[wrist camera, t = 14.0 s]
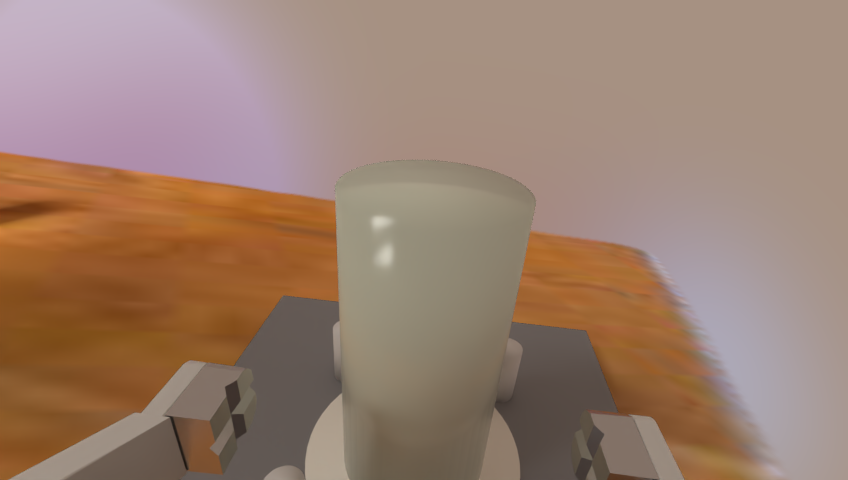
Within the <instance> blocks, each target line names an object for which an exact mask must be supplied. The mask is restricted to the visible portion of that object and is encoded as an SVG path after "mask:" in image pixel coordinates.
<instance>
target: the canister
mask: <svg viewBox="0 0 848 480" xmlns="http://www.w3.org/2000/svg"><path fill="white" fill-rule="evenodd" d="M335 202H336V231H337V261H338V290H339V319H340V349H341V378H342V407H343V437H344V462H345V468H346V472H347V475H348V478H349V480H479V478H480V474H481V470H482V466H483V461H484V456H485V451H486V446H487V441H488V436H489V431H490V426H491V421H492V417H493V412H494V407H495V402H496V397H497V392H498V387H499V382H500V377H501V372H502V367H503V363H504V358H505V353H506V348H507V343H508V338H509V333H510V328H511V323H512V318H513V313H514V309H515V304H516V299H517V294H518V289H519V284H520V279H521V274H522V269H523V264H524V260H525V255H526V250H527V245H528V240H529V235H530V230H531V225H532V220H533V215H534V210H535V206H536V200H535V197H534V195H533V193H532V192H531V191H530V190H529V189H528V188H527V187H526V186H524V185H523V184H521V183H520V182H518V181H516V180H514V179H512V178H510V177H508V176H506V175H503V174H500V173H498V172H495V171H492V170H488V169H485V168H481V167H477V166H471V165H466V164H461V163H454V162H446V161H436V160H435V161H434V160H396V161H386V162H380V163H373V164H369V165H365V166H362V167H359V168H356V169H353V170H351V171H349V172H347V173H345V174H344V175H343V176H341V177H340V179H339V180H338V181H337V183H336V185H335Z"/></svg>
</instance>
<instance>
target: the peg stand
mask: <svg viewBox="0 0 848 480" xmlns="http://www.w3.org/2000/svg"><path fill="white" fill-rule="evenodd" d="M234 366H235V367H242V368H248V369H251V370H252V375H253V381H252V383H251V385H250V387H251V388H252V389H253V390H254V391H255V393H256V398H257V403H256V411H255V414H254V418H253V421H252V423H251V425H250V427H249V429H248V431H247V432H246V433H245V434H243V435H242V436H240V437H239V438H237V439H236V443H237V448H238V449H237V451H236V452H235V454H234V456H233V458H232V460H231V461H230V463H229V465H228V467H227V469H226V470H225V472H224V474H223V475H220V474H210V473H201V472H191V471H187V474H186V475H184V476H183V477H182V478H181V479H179V480H349V478H348V475H347V472H346V468H345V462H344V437H343V407H342V378H341V349H340V319H339V302H335V301H326V300H318V299H309V298H301V297H292V296H283V297H282V298H281V299H280V301H279V302H278V304H277V305H276V307H275V308H274V309H273V311H272V312H271V314H270V315H269V316H268V318H267V319H266V321H265V322H264V324H263V325H262V326H261V328H260V329H259V331H258V332H257V334H256V335H255V336H254V338H253V339H252V341H251V342H250V344H249V345H248V346H247V348H246V349H245V351H244V352H243V354H242V355H241V356H240V358H239V359H238V361H237V362H236V363H235V365H234ZM585 409H587V410H596V411H605V412H614V413H618V410H617V408H616V405H615V403H614V400H613V398H612V395H611V393H610V390H609V388H608V385H607V382H606V380H605V377H604V375H603V372H602V370H601V367H600V365H599V362H598V360H597V357H596V355H595V352H594V350H593V347H592V345H591V342H590V340H589V337H588V335H587V332H586V331H585V330H576V329H567V328H559V327H550V326H541V325H533V324H524V323H516V322H512V323H511V328H510V333H509V338H508V343H507V348H506V353H505V358H504V363H503V367H502V372H501V377H500V382H499V387H498V392H497V397H496V402H495V407H494V412H493V417H492V421H491V426H490V431H489V436H488V441H487V446H486V451H485V456H484V461H483V466H482V470H481V474H480V478H479V480H579V479H578V478H577V477H576V476H575V474H574V469H573V465H572V457H571V450H572V441H573V437H574V434H575V432H577V431H579V430H580V429H582V428H581V424H580V417H581V414H582V412H583V411H584V410H585Z"/></svg>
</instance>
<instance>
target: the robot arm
mask: <svg viewBox="0 0 848 480" xmlns="http://www.w3.org/2000/svg"><path fill="white" fill-rule="evenodd" d="M252 381H253V375H252V370H251V369H248V368H242V367H235V366H228V365H222V364H215V363H207V362H200V361H193V360H190V361H188V362H186V363H184V364H183V365H182V366H181V367H180V368H179V370H178V371H177V372H176V373H175V374H174V375H173V376H172V378H171V379H170V380H169V381H168V382H167V383H166V385H165V386H164V387H163V388H162V389H161V390H160V392H159V393H158V394H157V395H156V396H155V397H154V398H153V400H152V401H151V402H150V403H149V404H148V405H147V407H146V408H145V409H144V410H143V411H142V412H141V413H133V414H131V415H129V416H127V417H125V418H123V419H122V420H120V421H118V422H116V423H114V424H112V425H110V426H108V427H107V428H105V429H103V430H101V431H99V432H97V433H95V434H93V435H91V436H90V437H88V438H86V439H84V440H82V441H80V442H78V443H76V444H75V445H73V446H71V447H69V448H67V449H65V450H63V451H61V452H59V453H58V454H56V455H54V456H52V457H50V458H48V459H46V460H44V461H43V462H41V463H39V464H37V465H35V466H33V467H31V468H29V469H28V470H26V471H24V472H22V473H20V474H18V475H16V476H14V477H12V478H11V479H9V480H179V479H181V478H182V477H183V476H184V475H186V474H187V471H191V472H201V473H210V474H220V475H223V474H224V472H225V470H226V469H227V467H228V465H229V463H230V461H231V460H232V458H233V456H234V454H235V452H236V451H237V449H238V448H237V443H236V439H237V438H239V437H240V436H242V435H243V434H245V433H246V432H247V431H248V429H249V427H250V425H251V423H252V421H253V418H254V414H255V411H256V403H257V398H256V393H255V391H254V390H253V389H252V388H251V387H250V385H251V383H252ZM580 424H581V428H582V429H580V430H579V431H577V432H575V434H574V437H573V441H572V450H571V457H572V465H573V469H574V474H575V476H576V477H577V478H578V479H579V480H685V479H684V477H683V475H682V473H681V471H680V469H679V467H678V465H677V463H676V461H675V459H674V457H673V455H672V453H671V451H670V449H669V447H668V445H667V443H666V441H665V439H664V437H663V435H662V433H661V431H660V429H659V427H658V425H657V423H656V421H655V420H654V419H653V418H652V417H647V416H639V415H630V414H629V415H627V414H623V413H614V412H605V411H596V410H587V409H585V410H584V411H583V412H582V414H581V417H580Z"/></svg>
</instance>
